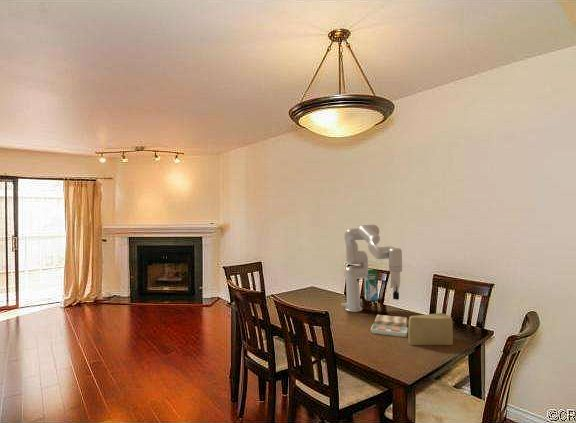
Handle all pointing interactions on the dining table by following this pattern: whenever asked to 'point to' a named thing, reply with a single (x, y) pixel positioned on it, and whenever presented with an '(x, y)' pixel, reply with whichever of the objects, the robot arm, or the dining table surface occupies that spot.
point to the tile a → (381, 328)
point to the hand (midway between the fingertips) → (396, 299)
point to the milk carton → (371, 286)
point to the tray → (389, 330)
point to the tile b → (395, 329)
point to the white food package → (391, 320)
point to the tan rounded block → (430, 329)
